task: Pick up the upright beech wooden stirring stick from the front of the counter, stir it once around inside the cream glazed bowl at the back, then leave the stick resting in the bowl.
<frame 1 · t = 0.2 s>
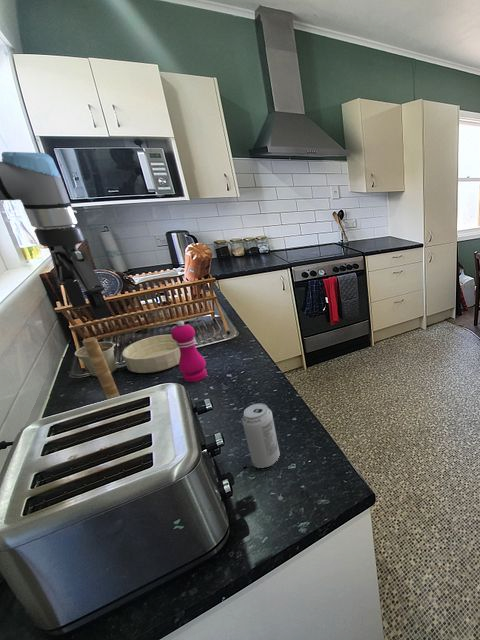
hand: (91, 311, 88), 28 cm above the counter, tool pointing down, fingers open, 13 cm apart
bowl: (160, 361, 120), on the counter
stick: (115, 400, 100), on the counter
flower pot: (104, 372, 113), on the counter
pepper mill: (196, 377, 112), on the counter
energy drink can: (266, 461, 82), on the counter
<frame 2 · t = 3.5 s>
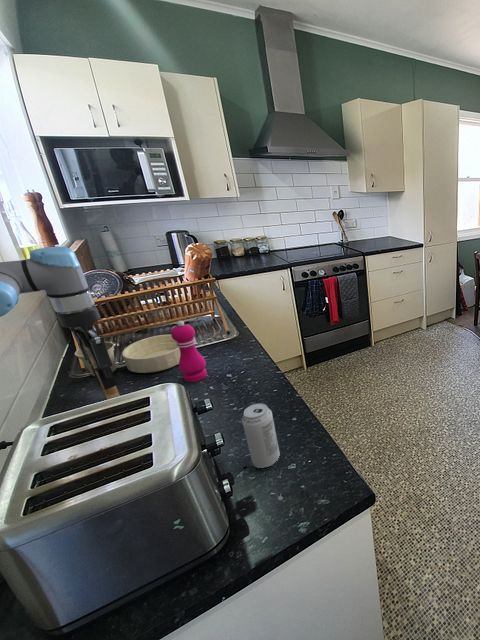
hand: (108, 384, 98), 6 cm above the counter, tool pointing down, fingers closed on stick, 3 cm apart
stick: (114, 400, 100), on the counter, touching gripper
everything else where it was.
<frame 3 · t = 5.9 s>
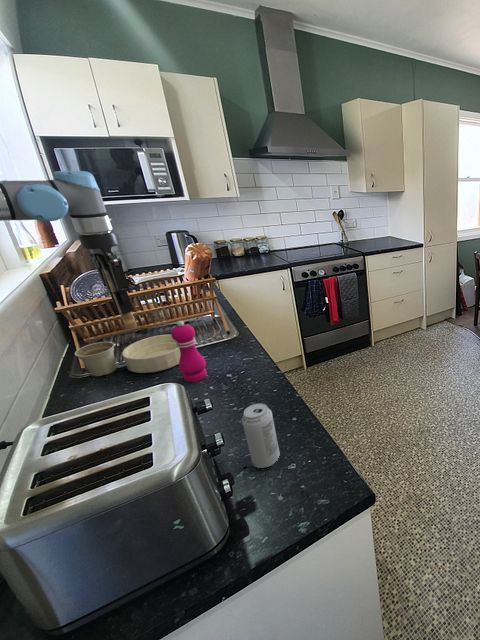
hand: (125, 310, 104), 22 cm above the counter, tool pointing down, fingers closed on stick, 3 cm apart
stick: (131, 327, 107), point 17 cm above the counter, touching gripper
everything else where it was.
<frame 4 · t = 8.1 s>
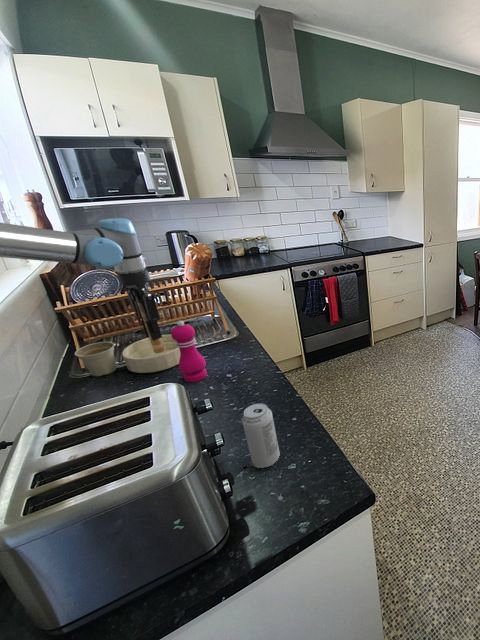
hand: (154, 337, 117), 9 cm above the counter, tool pointing down, fingers closed on stick, 3 cm apart
stick: (159, 351, 119), point 4 cm above the counter, touching gripper
everything else where it was.
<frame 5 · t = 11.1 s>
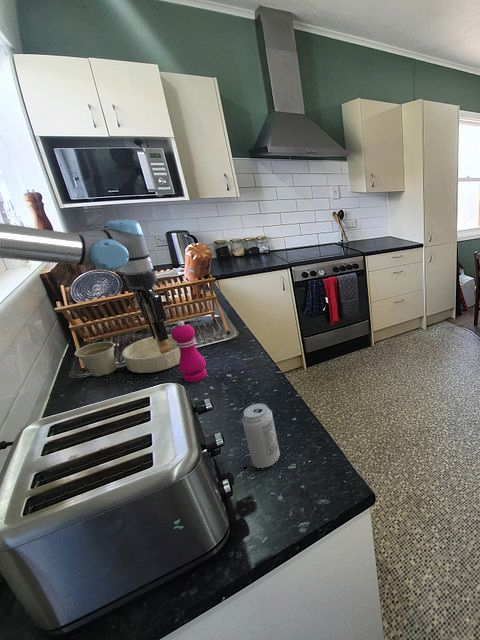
hand: (161, 338, 117), 9 cm above the counter, tool pointing down, fingers closed on stick, 3 cm apart
stick: (165, 352, 119), point 3 cm above the counter, touching gripper
everything else where it was.
when the fingers open (6 cm above the counter, at t = 13.0 s): stick stays where it is, resting on bowl.
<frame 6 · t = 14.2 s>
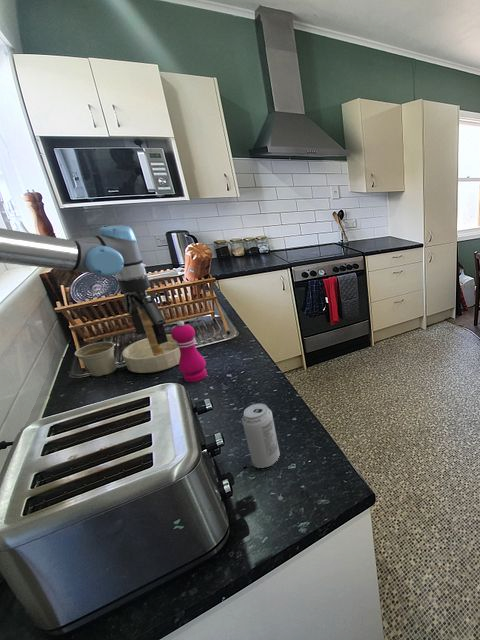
hand: (152, 337, 116), 9 cm above the counter, tool pointing down, fingers open, 13 cm apart
stick: (159, 358, 120), point 1 cm above the counter, touching bowl
everything else where it was.
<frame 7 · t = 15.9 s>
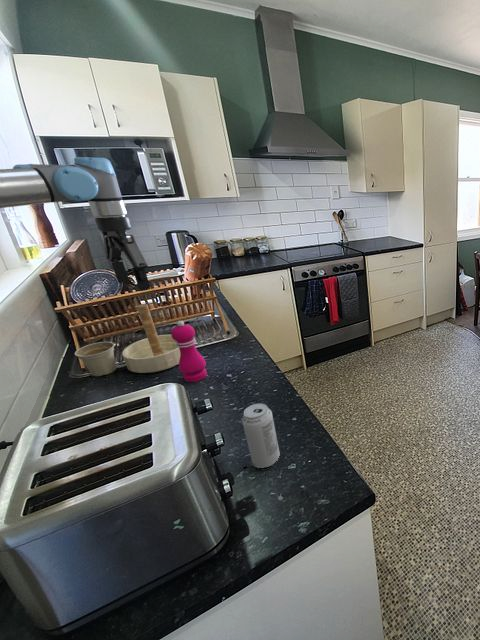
hand: (134, 285, 109), 28 cm above the counter, tool pointing down, fingers open, 13 cm apart
nothing on the counter moved.
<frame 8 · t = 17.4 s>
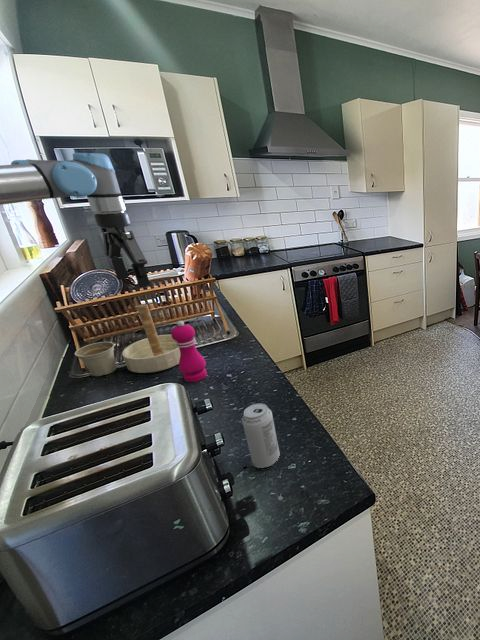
hand: (133, 282, 108), 29 cm above the counter, tool pointing down, fingers open, 13 cm apart
nothing on the counter moved.
at the end: stick inside the target area in the bowl (0.1 cm from its centre), point 0.8 cm above the bowl's base; the gripper is holding nothing; stick moved 22.3 cm from its start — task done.
